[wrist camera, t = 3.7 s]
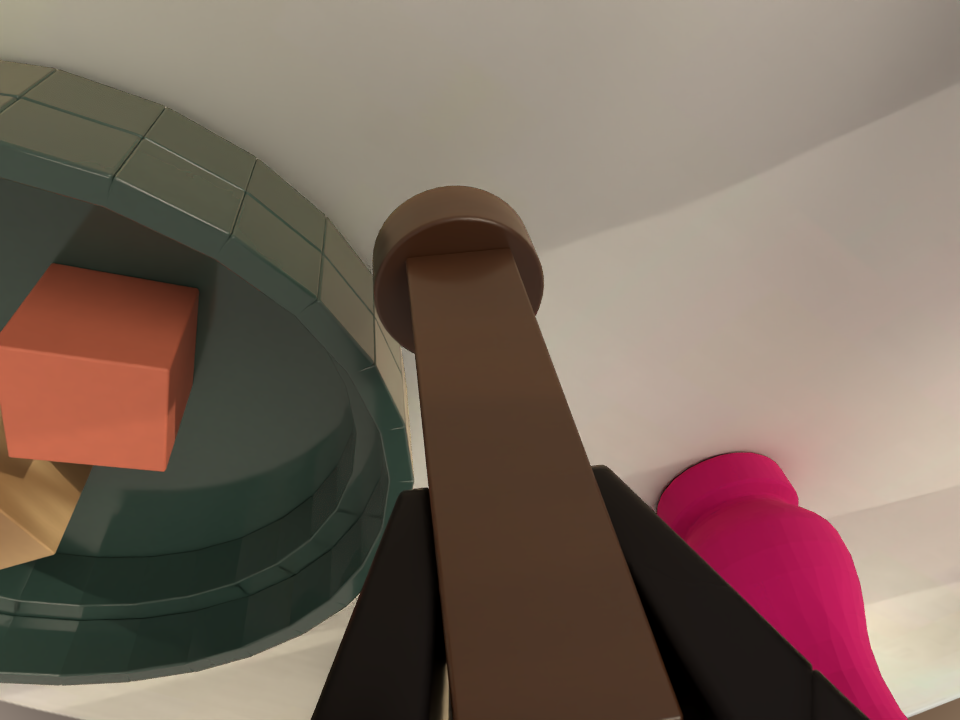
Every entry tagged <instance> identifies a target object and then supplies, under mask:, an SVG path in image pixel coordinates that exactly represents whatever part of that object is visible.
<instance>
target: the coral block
mask: <svg viewBox="0 0 960 720" xmlns="http://www.w3.org/2000/svg"><path fill="white" fill-rule="evenodd" d="M198 301H199V290H198V289H197V288H192V287H186V286H180V285H175V284H169V283H163V282H158V281H152V280H146V279H141V278H135V277H129V276H123V275H118V274H112V273H106V272H101V271H95V270H89V269H84V268H78V267H72V266H67V265H61V264H55V263H52V264H51V265H50V266H49V268H48V269H47V270H46V272H45V273H44V274H43V276H42V277H41V278H40V280H39V281H38V282H37V284H36V285H35V286H34V288H33V289H32V290H31V292H30V293H29V295H28V296H27V297H26V299H25V300H24V301H23V303H22V304H21V305H20V307H19V308H18V309H17V311H16V312H15V313H14V315H13V316H12V317H11V319H10V320H9V321H8V323H7V324H6V326H5V327H4V328H3V330H2V331H1V332H0V407H1V413H2V419H3V425H4V431H5V437H6V444H7V450H8V456H9V457H12V458H22V459H33V460H44V461H54V462H65V463H76V464H86V465H97V466H107V467H118V468H129V469H139V470H150V471H160V472H164V471H165V470H166V468H167V465H168V461H169V458H170V455H171V452H172V449H173V445H174V442H175V439H176V436H177V433H178V430H179V426H180V423H181V420H182V417H183V414H184V410H185V407H186V404H187V401H188V398H189V395H190V391H191V388H192V385H193V373H194V358H195V344H196V329H197V315H198Z"/></svg>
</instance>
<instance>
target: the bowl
mask: <svg viewBox="0 0 960 720" xmlns="http://www.w3.org/2000/svg"><path fill="white" fill-rule="evenodd" d="M52 263H55V264H61V265H67V266H72V267H78V268H84V269H89V270H95V271H101V272H106V273H112V274H118V275H123V276H129V277H135V278H141V279H146V280H152V281H158V282H163V283H169V284H175V285H180V286H186V287H192V288H197V289H198V290H199V301H198V315H197V329H196V344H195V358H194V373H193V385H192V388H191V391H190V395H189V398H188V401H187V404H186V407H185V410H184V414H183V417H182V420H181V423H180V426H179V430H178V433H177V436H176V439H175V442H174V445H173V449H172V452H171V455H170V458H169V461H168V465H167V468H166V470H165V471H164V472H160V471H150V470H139V469H129V468H118V467H107V466H97V465H93V467H92V470H91V472H90V474H89V477H88V479H87V481H86V484H85V486H84V488H83V490H82V493H81V495H80V497H79V500H78V502H77V504H76V507H75V509H74V511H73V514H72V516H71V518H70V520H69V523H68V525H67V527H66V530H65V532H64V534H63V537H62V539H61V541H60V544H59V546H58V548H57V550H56V553H55V554H54V555H51V556H47V557H44V558H40V559H36V560H33V561H29V562H26V563H22V564H19V565H15V566H11V567H8V568H4V569H1V570H0V683H17V684H40V685H82V684H102V683H121V682H131V681H139V680H145V679H152V678H158V677H165V676H171V675H178V674H184V673H191V672H194V671H195V672H198V671H201V670H205V669H209V668H212V667H216V666H219V665H223V664H227V663H230V662H234V661H237V660H241V659H245V658H248V657H252V656H253V655H256V654H259V653H261V652H263V651H266V650H268V649H270V648H272V647H275V646H277V645H279V644H282V643H284V642H286V641H289V640H291V639H293V638H296V637H298V636H300V635H302V634H303V633H306V632H308V631H309V630H311V629H312V628H314V627H315V626H317V625H319V624H320V623H322V622H323V621H325V620H326V619H328V618H329V617H331V616H332V615H334V614H335V613H337V612H338V611H340V610H341V609H343V608H345V607H346V606H347V605H348V604H349V603H350V602H351V601H352V600H353V599H354V598H355V597H356V596H357V595H358V594H359V593H360V592H361V590H362V587H363V585H364V582H365V580H366V577H367V574H368V572H369V569H370V567H371V564H372V562H373V559H374V557H375V554H376V551H377V549H378V546H379V544H380V541H381V539H382V536H383V533H384V531H385V528H386V526H387V523H388V521H389V518H390V516H391V513H392V510H393V508H394V505H395V503H396V500H397V498H398V496H399V494H400V493H401V492H402V491H404V490H411V489H413V485H414V471H413V459H412V446H411V434H410V421H409V409H408V397H407V386H406V379H405V372H404V365H403V358H402V351H401V345H400V344H399V343H398V342H396V341H395V340H394V339H393V338H392V337H391V336H390V334H389V333H388V332H387V331H386V330H385V328H384V326H383V325H382V323H381V321H380V319H379V317H378V314H377V312H376V308H375V304H374V290H373V276H372V274H371V273H370V271H369V270H368V269H367V268H366V266H365V265H364V264H363V262H362V261H361V260H360V259H359V257H358V256H357V255H356V253H355V252H354V251H353V249H352V248H351V247H350V246H349V244H348V243H347V242H346V240H345V239H344V238H343V237H342V235H341V234H340V233H339V231H338V230H337V229H336V227H335V226H334V225H333V224H332V222H331V221H330V220H329V218H327V217H326V216H325V215H324V214H323V213H322V212H321V211H320V210H318V209H317V208H316V207H315V206H314V205H313V204H311V203H310V202H309V201H308V200H307V199H305V198H304V197H303V196H302V195H301V194H300V193H298V192H297V191H296V190H295V189H294V188H292V187H291V186H290V185H289V184H288V183H287V182H285V181H284V180H283V179H282V178H281V177H279V176H278V175H277V174H276V173H275V172H274V171H272V170H271V169H270V168H269V167H268V166H266V165H265V164H264V163H263V162H262V161H261V160H259V159H257V160H256V157H255V156H253V155H252V154H250V153H248V152H246V151H245V150H243V149H241V148H239V147H238V146H236V145H234V144H232V143H230V142H229V141H227V140H225V139H223V138H222V137H220V136H218V135H216V134H214V133H213V132H211V131H209V130H207V129H206V128H204V127H202V126H200V125H198V124H197V123H195V122H193V121H191V120H190V119H188V118H186V117H184V116H182V115H181V114H179V113H177V112H175V111H174V110H172V109H170V108H168V107H166V108H165V106H163V105H161V104H158V103H155V102H152V101H149V100H146V99H143V98H141V97H138V96H135V95H132V94H129V93H126V92H123V91H120V90H117V89H114V88H112V87H109V86H106V85H103V84H100V83H97V82H94V81H91V80H88V79H85V78H82V77H80V76H77V75H74V74H71V73H68V72H65V71H62V70H56V69H55V68H50V67H43V66H36V65H30V64H23V63H16V62H9V61H2V60H0V332H1V331H2V330H3V328H4V327H5V326H6V324H7V323H8V321H9V320H10V319H11V317H12V316H13V315H14V313H15V312H16V311H17V309H18V308H19V307H20V305H21V304H22V303H23V301H24V300H25V299H26V297H27V296H28V295H29V293H30V292H31V290H32V289H33V288H34V286H35V285H36V284H37V282H38V281H39V280H40V278H41V277H42V276H43V274H44V273H45V272H46V270H47V269H48V268H49V266H50V265H51V264H52Z"/></svg>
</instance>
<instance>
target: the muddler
mask: <svg viewBox="0 0 960 720" xmlns="http://www.w3.org/2000/svg"><path fill="white" fill-rule="evenodd" d="M543 289H544V275H543V270H542V266H541V263H540V260H539V258H538V255H537V253H536V251H535V248H534V246H533V244H532V241H531V239H530V237H529V234H528V232H527V230H526V227H525V225H524V224H523V222H522V220H521V218H520V217H519V216H518V214H517V213H516V212H515V210H514V209H512V208H511V207H510V206H509V205H508V204H507V203H506V202H505V201H503V200H502V199H500V198H499V197H497V196H495V195H493V194H491V193H489V192H487V191H484V190H481V189H477V188H473V187H467V186H445V187H438V188H434V189H430V190H427V191H424V192H422V193H420V194H417V195H415V196H413V197H412V198H410V199H408V200H407V201H405V202H404V203H403V204H401V205H400V206H399V207H398V208H397V209H396V210H395V211H394V212H393V213H392V214H391V215H390V216H389V217H388V218H387V220H386V221H385V222H384V224H383V226H382V228H381V229H380V231H379V233H378V236H377V239H376V241H375V246H374V250H373V290H374V304H375V308H376V312H377V314H378V317H379V319H380V321H381V323H382V325H383V326H384V328H385V330H386V331H387V332H388V333H389V334H390V336H391V337H392V338H393V339H394V340H395V341H396V342H398V343H399V344H400V345H401V346H403V347H404V348H406V349H407V350H409V351H411V352H413V353H414V354H415V360H416V369H417V379H418V389H419V399H420V408H421V418H422V428H423V437H424V447H425V457H426V467H427V476H428V486H429V496H430V506H431V515H432V525H433V535H434V544H435V554H436V564H437V574H438V583H439V593H440V603H441V613H442V622H443V632H444V642H445V651H446V661H447V671H448V681H449V690H450V700H451V710H452V720H683V714H682V711H681V708H680V706H679V703H678V700H677V697H676V695H675V692H674V689H673V687H672V684H671V681H670V679H669V676H668V673H667V670H666V668H665V665H664V662H663V660H662V657H661V654H660V652H659V649H658V646H657V644H656V641H655V638H654V635H653V633H652V630H651V627H650V625H649V622H648V619H647V617H646V614H645V611H644V608H643V606H642V603H641V600H640V598H639V595H638V592H637V590H636V587H635V584H634V581H633V579H632V576H631V573H630V571H629V568H628V565H627V563H626V560H625V557H624V554H623V552H622V549H621V546H620V544H619V541H618V538H617V536H616V533H615V530H614V527H613V525H612V522H611V519H610V517H609V514H608V511H607V509H606V506H605V503H604V500H603V498H602V495H601V492H600V490H599V487H598V484H597V482H596V479H595V476H594V473H593V471H592V468H591V465H590V463H589V460H588V457H587V455H586V452H585V449H584V447H583V444H582V441H581V438H580V436H579V433H578V430H577V428H576V425H575V422H574V420H573V417H572V414H571V411H570V409H569V406H568V403H567V401H566V398H565V395H564V393H563V390H562V387H561V384H560V382H559V379H558V376H557V374H556V371H555V368H554V366H553V363H552V360H551V357H550V355H549V352H548V349H547V347H546V344H545V341H544V339H543V336H542V333H541V330H540V328H539V325H538V322H537V320H536V317H535V316H536V314H537V311H538V309H539V307H540V304H541V300H542V296H543Z"/></svg>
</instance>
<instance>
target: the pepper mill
mask: <svg viewBox="0 0 960 720" xmlns="http://www.w3.org/2000/svg"><path fill="white" fill-rule="evenodd" d="M657 515H658V516H659V517H660V518H661V519H662V520H663V521H664V522H665V523H666V524H667V525H668V526H670V527H671V528H672V529H673V530H674V531H675V532H676V533H677V534H678V535H679V536H680V537H681V538H682V539H683V540H684V541H685V542H686V543H687V544H688V545H689V546H690V547H691V548H692V549H693V550H694V551H695V552H696V553H697V554H698V555H699V556H701V557H702V558H703V559H704V560H705V561H706V562H707V563H708V564H709V565H710V566H711V567H712V568H713V569H714V570H715V571H716V572H717V573H718V574H719V575H720V576H721V577H722V578H723V579H724V580H725V581H726V582H727V583H728V584H729V585H731V586H732V587H733V588H734V589H735V590H736V591H737V592H738V593H739V594H740V595H741V596H742V597H743V598H744V599H745V600H746V601H747V602H748V603H749V604H750V605H751V606H752V607H753V608H754V609H755V610H756V611H757V612H758V613H759V614H760V615H762V616H763V617H764V618H765V619H766V620H767V621H768V622H769V623H770V624H771V625H772V626H773V627H774V628H775V629H776V630H777V631H778V632H779V633H780V634H781V635H782V636H783V637H784V638H785V639H786V640H787V641H788V642H789V643H790V644H792V645H793V646H794V647H795V648H796V649H797V650H798V651H799V652H800V653H801V654H802V655H803V656H804V657H805V658H806V659H807V660H808V661H809V662H810V663H811V664H812V667H813V670H819V671H820V672H821V673H822V674H823V675H824V676H825V677H826V678H827V679H828V680H829V681H830V682H831V683H832V684H833V685H834V686H835V687H836V688H837V689H838V690H839V691H840V692H841V693H842V694H843V695H844V696H845V697H847V698H848V699H849V700H850V701H851V702H852V703H853V704H854V705H855V706H856V707H857V708H858V709H860V710H861V711H862V712H863V713H864V714H865V715H866V716H867V717H868V718H869V719H870V720H908V719H907V717H906V716H905V715H904V714H903V712H902V711H901V710H900V708H899V706H898V704H897V703H896V701H895V699H894V697H893V696H892V694H891V692H890V690H889V689H888V687H887V685H886V683H885V682H884V680H883V678H882V676H881V673H880V671H879V668H878V665H877V663H876V660H875V657H874V655H873V652H872V649H871V646H870V642H869V637H868V632H867V626H866V618H865V610H864V602H863V597H862V591H861V585H860V581H859V578H858V575H857V572H856V569H855V566H854V563H853V560H852V557H851V554H850V553H849V551H848V549H847V547H846V546H845V544H844V542H843V540H842V539H841V537H840V535H839V533H838V532H837V530H836V529H835V528H834V527H833V526H832V525H831V524H830V523H829V522H828V521H827V520H826V519H824V518H822V517H821V516H819V515H818V514H816V513H814V512H812V511H809V510H807V509H804V508H802V507H799V506H798V496H797V493H796V491H795V490H794V488H793V487H792V485H791V484H790V482H789V481H788V479H787V477H786V476H785V474H784V473H783V471H782V470H781V468H780V467H779V466H778V465H777V464H776V462H774V461H773V460H771V459H770V458H768V457H766V456H762V455H759V454H755V453H730V454H724V455H720V456H716V457H713V458H710V459H708V460H705V461H703V462H700V463H698V464H696V465H695V466H693V467H691V468H689V469H687V470H686V471H684V472H683V473H682V474H680V475H679V476H678V477H677V478H675V479H674V480H673V481H672V482H671V484H670V485H669V486H668V487H667V489H666V490H665V491H664V492H663V493H662V496H661V498H660V501H659V503H658V508H657Z"/></svg>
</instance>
